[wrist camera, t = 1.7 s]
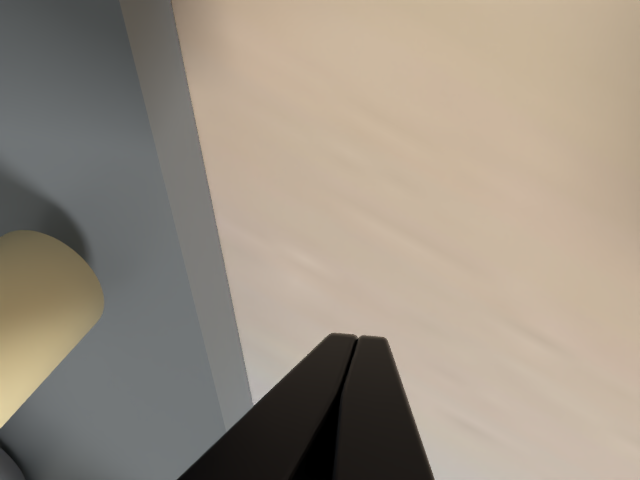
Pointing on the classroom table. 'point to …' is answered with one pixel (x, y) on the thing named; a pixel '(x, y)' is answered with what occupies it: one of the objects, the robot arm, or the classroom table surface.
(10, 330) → the beige and grey mallet
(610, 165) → the classroom table surface
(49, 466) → the gauge plate
